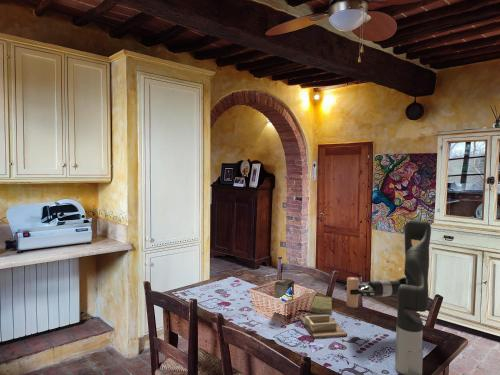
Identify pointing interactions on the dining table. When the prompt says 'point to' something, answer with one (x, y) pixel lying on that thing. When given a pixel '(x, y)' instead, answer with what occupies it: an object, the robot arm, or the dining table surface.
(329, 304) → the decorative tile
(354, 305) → the tan wooden cylinder
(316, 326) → the dock
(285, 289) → the coffee box
